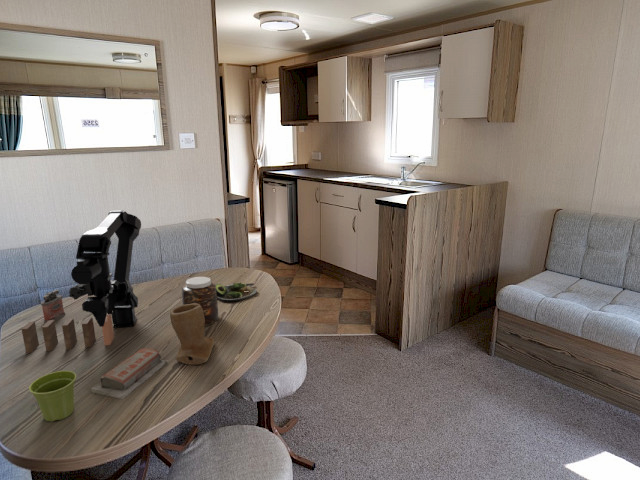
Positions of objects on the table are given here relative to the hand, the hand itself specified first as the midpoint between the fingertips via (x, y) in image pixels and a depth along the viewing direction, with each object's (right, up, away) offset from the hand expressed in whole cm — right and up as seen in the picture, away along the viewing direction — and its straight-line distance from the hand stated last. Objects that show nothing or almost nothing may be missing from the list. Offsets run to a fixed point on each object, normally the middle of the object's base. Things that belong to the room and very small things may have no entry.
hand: (105, 320), depth 132 cm
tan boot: (+29, -9, -6) cm, 31 cm away
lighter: (-28, -3, +19) cm, 34 cm away
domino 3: (-11, -8, 0) cm, 13 cm away
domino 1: (-22, -8, -2) cm, 23 cm away
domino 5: (0, -7, +2) cm, 8 cm away
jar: (+25, -3, +17) cm, 31 cm away
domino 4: (-5, -8, +1) cm, 9 cm away
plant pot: (+5, -16, -32) cm, 37 cm away
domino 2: (-16, -8, -1) cm, 18 cm away
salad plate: (+31, +2, +41) cm, 52 cm away
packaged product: (+16, -13, -17) cm, 27 cm away
